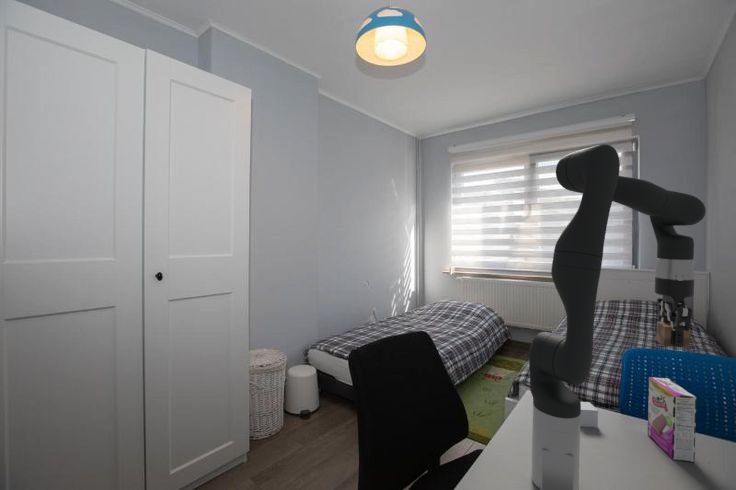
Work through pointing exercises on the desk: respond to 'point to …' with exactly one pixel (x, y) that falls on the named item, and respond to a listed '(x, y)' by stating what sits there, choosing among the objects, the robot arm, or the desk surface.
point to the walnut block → (665, 335)
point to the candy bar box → (672, 418)
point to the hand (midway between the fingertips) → (672, 342)
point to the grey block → (588, 415)
